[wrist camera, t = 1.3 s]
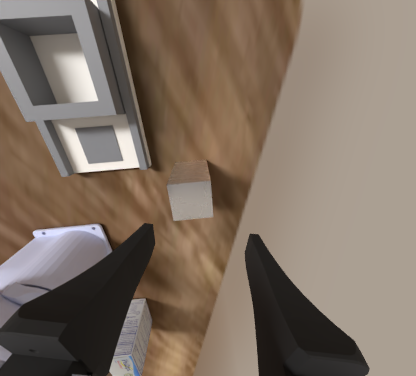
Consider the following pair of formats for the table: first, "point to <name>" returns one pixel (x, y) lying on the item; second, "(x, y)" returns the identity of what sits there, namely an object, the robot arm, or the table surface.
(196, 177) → the steel square block
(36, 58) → the frame
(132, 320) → the medicine box
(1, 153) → the table surface
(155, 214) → the table surface
